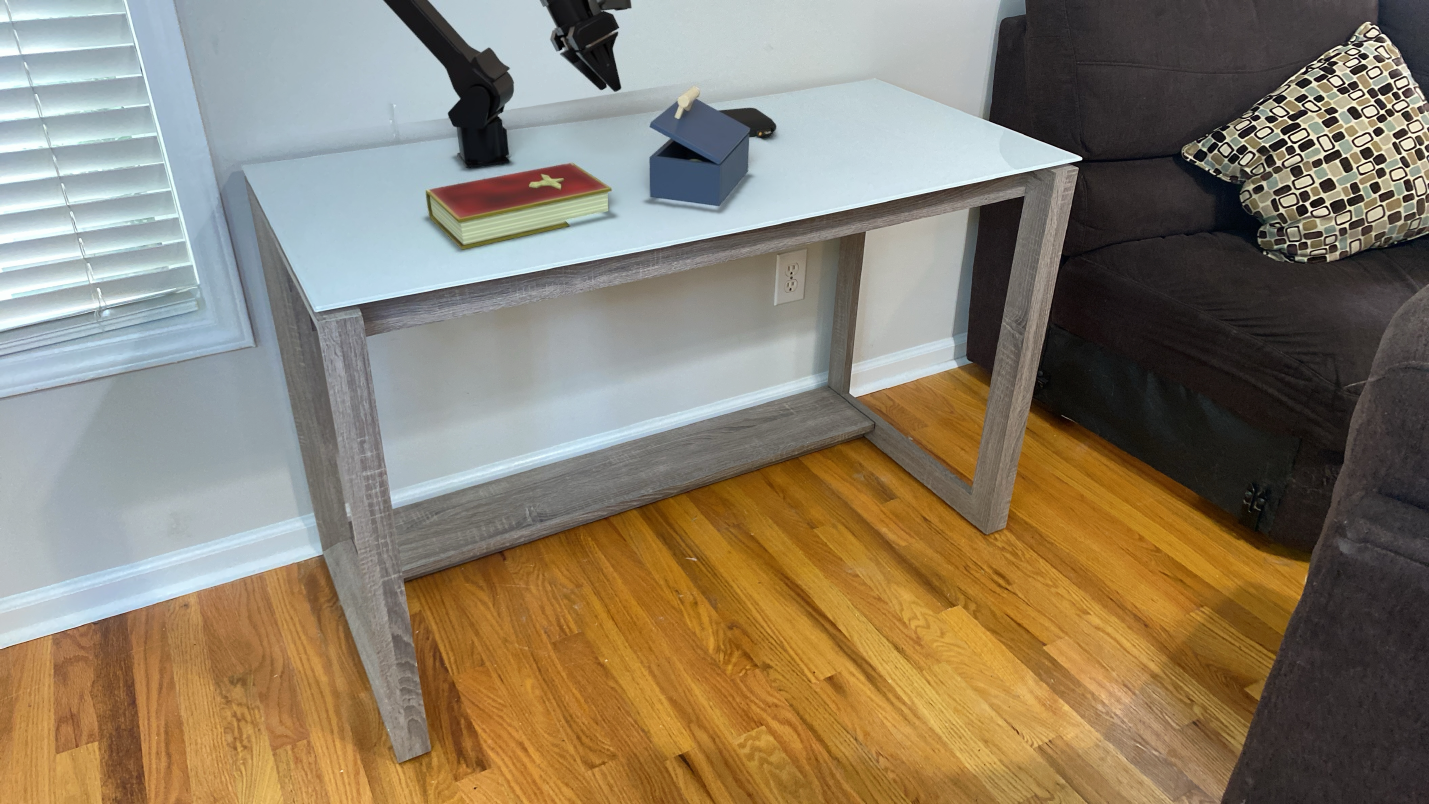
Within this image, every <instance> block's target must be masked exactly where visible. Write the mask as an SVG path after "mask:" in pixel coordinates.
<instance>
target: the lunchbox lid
mask: <svg viewBox="0 0 1429 804" xmlns="http://www.w3.org/2000/svg"><path fill="white" fill-rule="evenodd" d="M700 95H701V90H700V88H699V87H697V86H695V85H694V86H693V85H692V86H691V87H689V88H688V89H687V90H685V91H684V92H683V93H682V94H681V95H679V96H678V98H677V100H676V101H675V102H674V103H672V105H670V106H669V107H667V109H665V110H664V111H663V112H661V113H660V114H659V115H658V116H657V117H655V118H654V119H652V120H651V121H650V124H649V128H650V129H652V130H654V131H656V132H658V133H660V134H661V135H663V136H666V137H667V138H668V139H670V138H671V139H673V140H674V141H676V142H678V143H680V144H682V145H684V146H685V147H687V148H689V149H691V150H693V151H695V152H696V153H698V154H700V155H702V156H704V157H706V158H707V159H709V160H711V161H713V162H715V163H717V164H718V165H719V164H720V163H721V162H722V161H723V160H724V159H725V158H726V157H727V156H728V155H729V153H730V152H731V151H732V150H733V149H734V148H735V147H736V146H737V145H738V144H739V143H740V141H741V140H742V139H743V138H744V137H745V136H746V135H747V134H748V133H749V131H750V128H749V127H747V126H745V125H744V124H742V123H740V122H738V121H736V120H734V119H733V118H731V117H729V116H727V115H725V114H723V113H721V112H720V111H718V110H719V109H716V108H715V107H712V106H710V105H708V104H706V103H705V102H703V101H701V100H699V99H698V98H699V97H700Z"/></svg>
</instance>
